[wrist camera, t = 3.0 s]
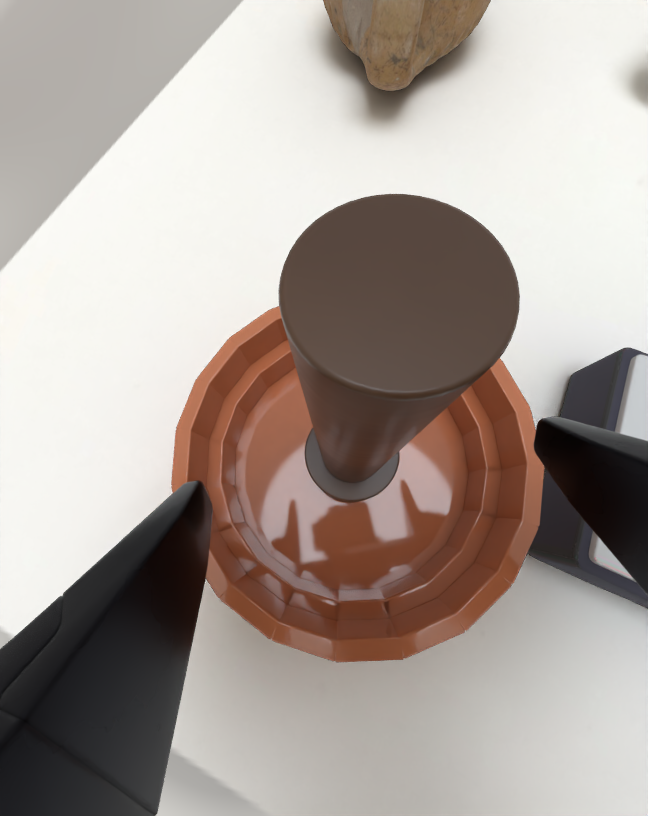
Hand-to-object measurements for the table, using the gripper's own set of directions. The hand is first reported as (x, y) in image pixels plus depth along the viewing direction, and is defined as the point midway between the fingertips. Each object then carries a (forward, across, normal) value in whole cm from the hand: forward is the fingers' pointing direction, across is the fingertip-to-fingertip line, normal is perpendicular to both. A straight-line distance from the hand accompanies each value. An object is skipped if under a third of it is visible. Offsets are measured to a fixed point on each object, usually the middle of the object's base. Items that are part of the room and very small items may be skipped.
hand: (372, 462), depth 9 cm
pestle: (+8, 0, +6) cm, 10 cm away
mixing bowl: (+8, 0, +6) cm, 10 cm away
